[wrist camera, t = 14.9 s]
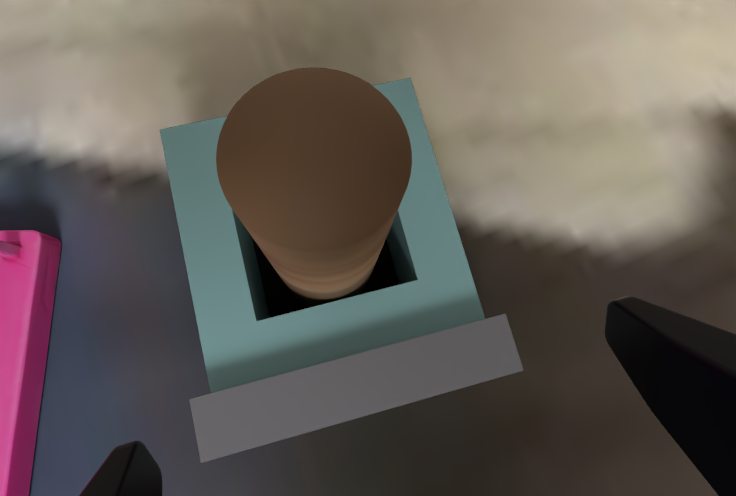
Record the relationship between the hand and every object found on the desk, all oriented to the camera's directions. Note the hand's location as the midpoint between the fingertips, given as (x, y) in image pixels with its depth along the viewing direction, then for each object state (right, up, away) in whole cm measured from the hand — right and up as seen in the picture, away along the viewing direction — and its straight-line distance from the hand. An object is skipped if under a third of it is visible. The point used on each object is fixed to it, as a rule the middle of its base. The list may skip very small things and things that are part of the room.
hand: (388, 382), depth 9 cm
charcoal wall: (-1, -3, +13) cm, 13 cm away
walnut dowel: (-2, +2, +14) cm, 14 cm away
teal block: (-2, +3, +14) cm, 14 cm away
